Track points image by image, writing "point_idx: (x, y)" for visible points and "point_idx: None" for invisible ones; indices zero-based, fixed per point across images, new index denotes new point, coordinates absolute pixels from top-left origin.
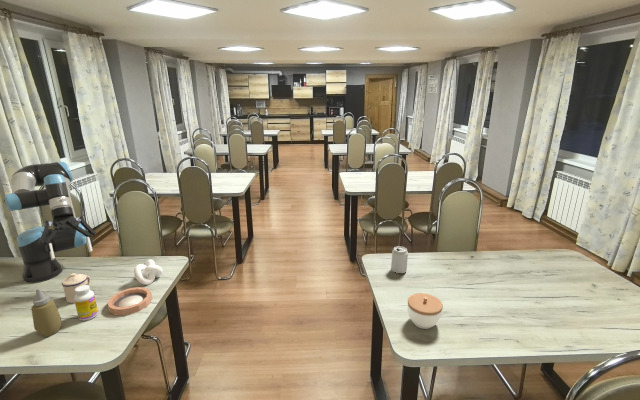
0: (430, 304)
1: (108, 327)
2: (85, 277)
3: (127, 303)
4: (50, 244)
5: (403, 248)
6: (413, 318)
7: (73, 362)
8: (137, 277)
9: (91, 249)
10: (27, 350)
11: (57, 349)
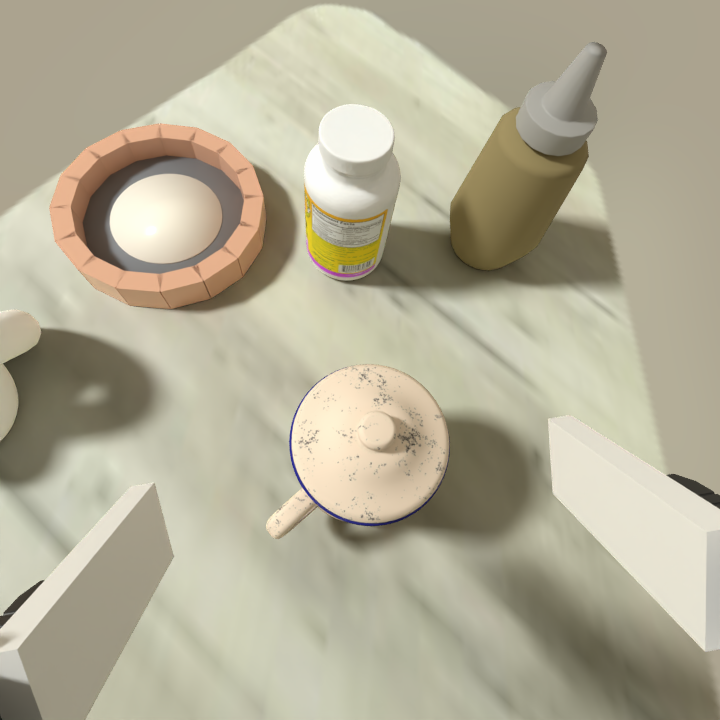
0: None
1: (299, 132)
2: (303, 406)
3: (184, 212)
4: (707, 513)
5: None
6: None
7: (421, 52)
8: (26, 317)
9: (132, 493)
10: None
11: (459, 132)
